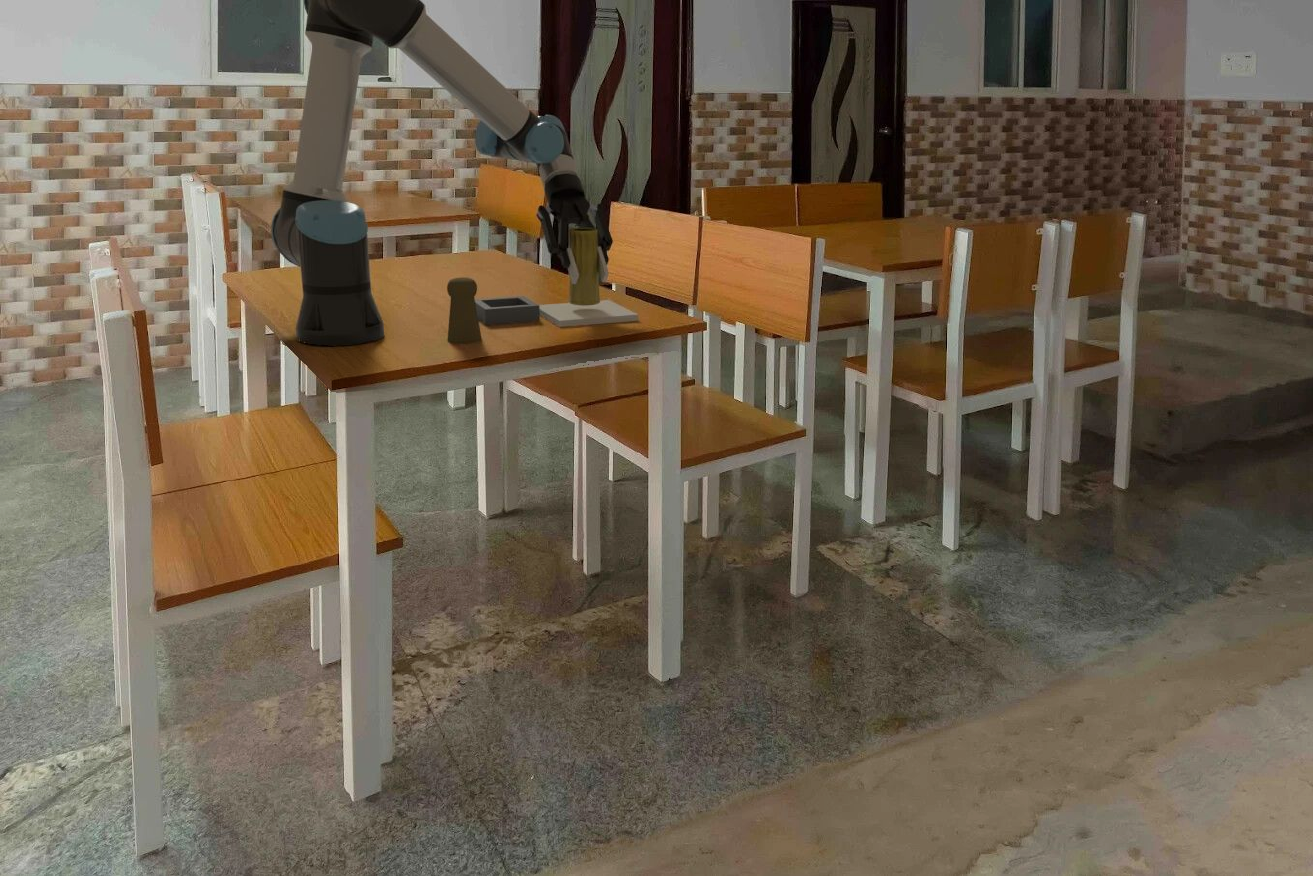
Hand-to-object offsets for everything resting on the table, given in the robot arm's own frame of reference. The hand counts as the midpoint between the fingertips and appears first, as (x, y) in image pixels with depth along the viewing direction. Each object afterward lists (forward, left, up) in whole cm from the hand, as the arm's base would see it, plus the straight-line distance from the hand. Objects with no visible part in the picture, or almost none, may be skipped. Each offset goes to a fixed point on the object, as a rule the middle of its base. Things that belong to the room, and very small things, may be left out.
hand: (590, 278), depth 212 cm
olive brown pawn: (-27, -8, -8) cm, 29 cm away
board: (0, +4, -8) cm, 9 cm away
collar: (-15, +8, -8) cm, 19 cm away
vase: (0, +4, -6) cm, 7 cm away
